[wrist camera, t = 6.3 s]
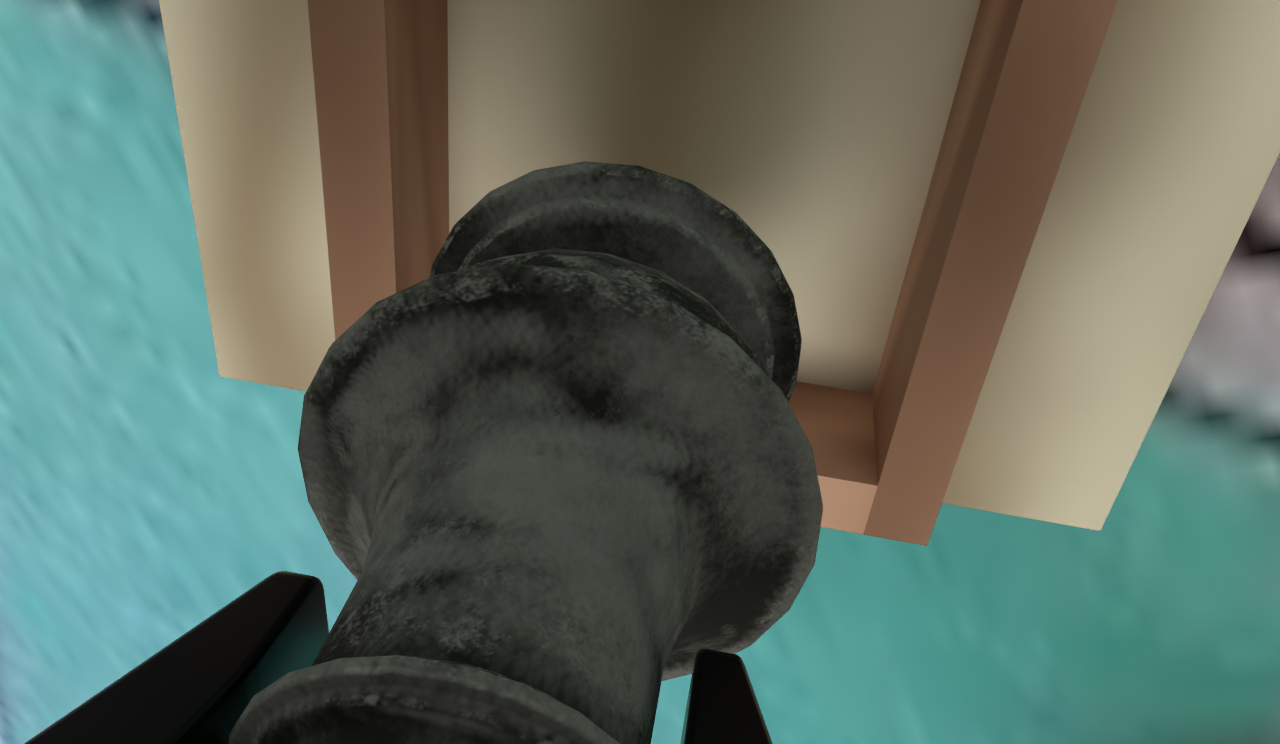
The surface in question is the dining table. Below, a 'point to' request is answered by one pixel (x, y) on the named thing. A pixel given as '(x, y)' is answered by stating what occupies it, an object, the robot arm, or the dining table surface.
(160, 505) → the dining table surface
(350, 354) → the salt shaker
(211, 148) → the shaker holder
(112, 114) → the dining table surface
